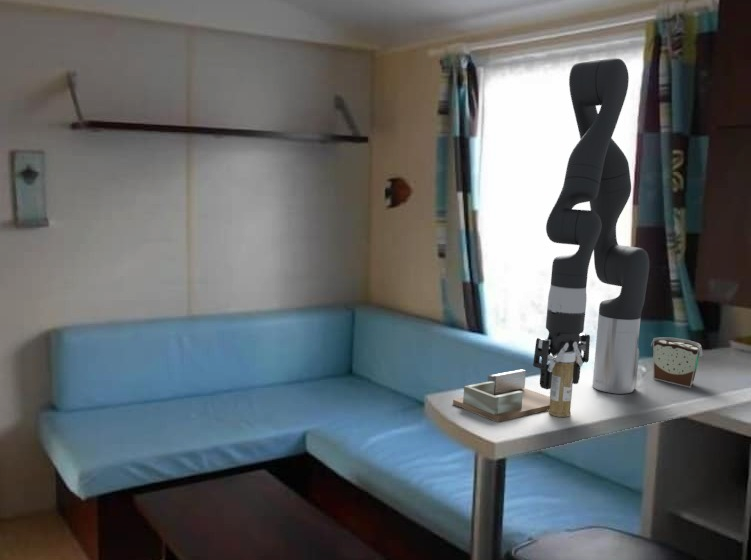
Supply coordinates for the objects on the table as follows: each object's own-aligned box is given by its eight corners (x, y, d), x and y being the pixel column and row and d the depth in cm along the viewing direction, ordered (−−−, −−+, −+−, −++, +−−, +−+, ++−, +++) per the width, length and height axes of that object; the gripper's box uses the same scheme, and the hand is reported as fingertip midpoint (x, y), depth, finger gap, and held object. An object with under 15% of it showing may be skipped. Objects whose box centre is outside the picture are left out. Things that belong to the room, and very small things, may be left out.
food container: (707, 384, 189) (712, 344, 188) (696, 389, 185) (701, 348, 184) (659, 373, 198) (663, 334, 196) (647, 377, 194) (651, 337, 192)
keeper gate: (490, 395, 169) (492, 377, 168) (484, 393, 170) (486, 375, 170) (525, 388, 175) (526, 370, 175) (519, 386, 177) (520, 368, 176)
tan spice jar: (572, 418, 160) (577, 354, 158) (549, 417, 160) (555, 353, 158) (568, 411, 165) (573, 348, 163) (546, 410, 165) (551, 347, 163)
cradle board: (518, 390, 178) (519, 371, 177) (563, 406, 168) (565, 385, 167) (453, 404, 166) (454, 383, 165) (497, 422, 156) (498, 400, 155)
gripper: (574, 302, 166) (567, 377, 169) (528, 307, 158) (521, 385, 160) (603, 309, 160) (596, 386, 163) (557, 313, 152) (550, 395, 154)
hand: (559, 385), depth 161 cm, fingers open, 8 cm apart
